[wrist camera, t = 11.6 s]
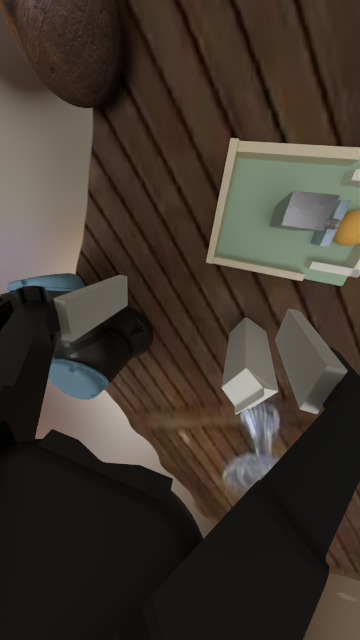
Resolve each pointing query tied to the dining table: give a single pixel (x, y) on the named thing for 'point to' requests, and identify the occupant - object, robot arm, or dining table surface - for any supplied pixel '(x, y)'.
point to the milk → (248, 366)
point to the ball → (349, 229)
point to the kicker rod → (311, 214)
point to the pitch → (261, 199)
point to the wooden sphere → (69, 45)
